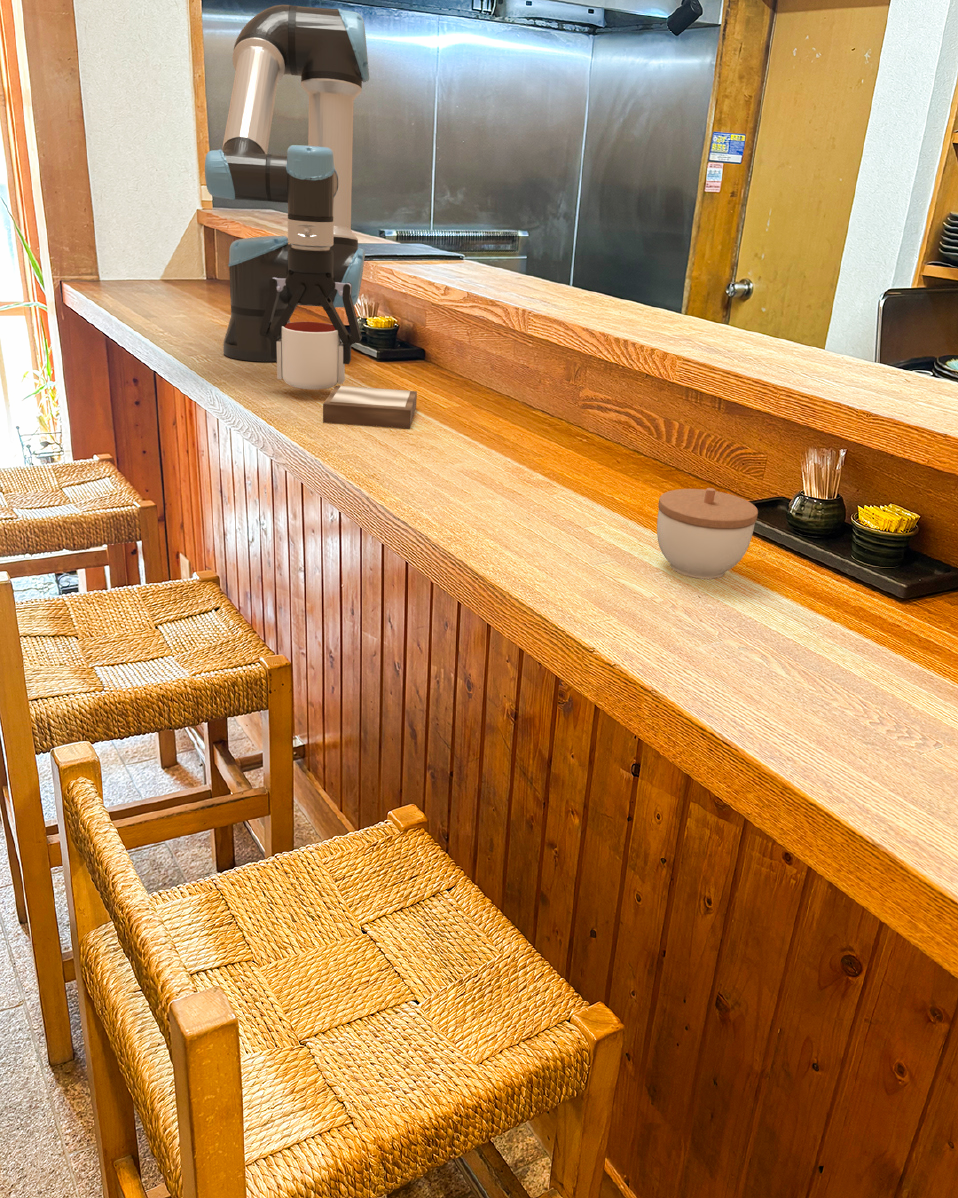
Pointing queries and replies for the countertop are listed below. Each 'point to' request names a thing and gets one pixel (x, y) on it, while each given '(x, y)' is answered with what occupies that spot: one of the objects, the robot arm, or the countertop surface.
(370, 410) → the stand
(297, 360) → the cup
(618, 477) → the countertop surface
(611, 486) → the countertop surface
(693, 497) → the lidded jar
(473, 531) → the countertop surface
